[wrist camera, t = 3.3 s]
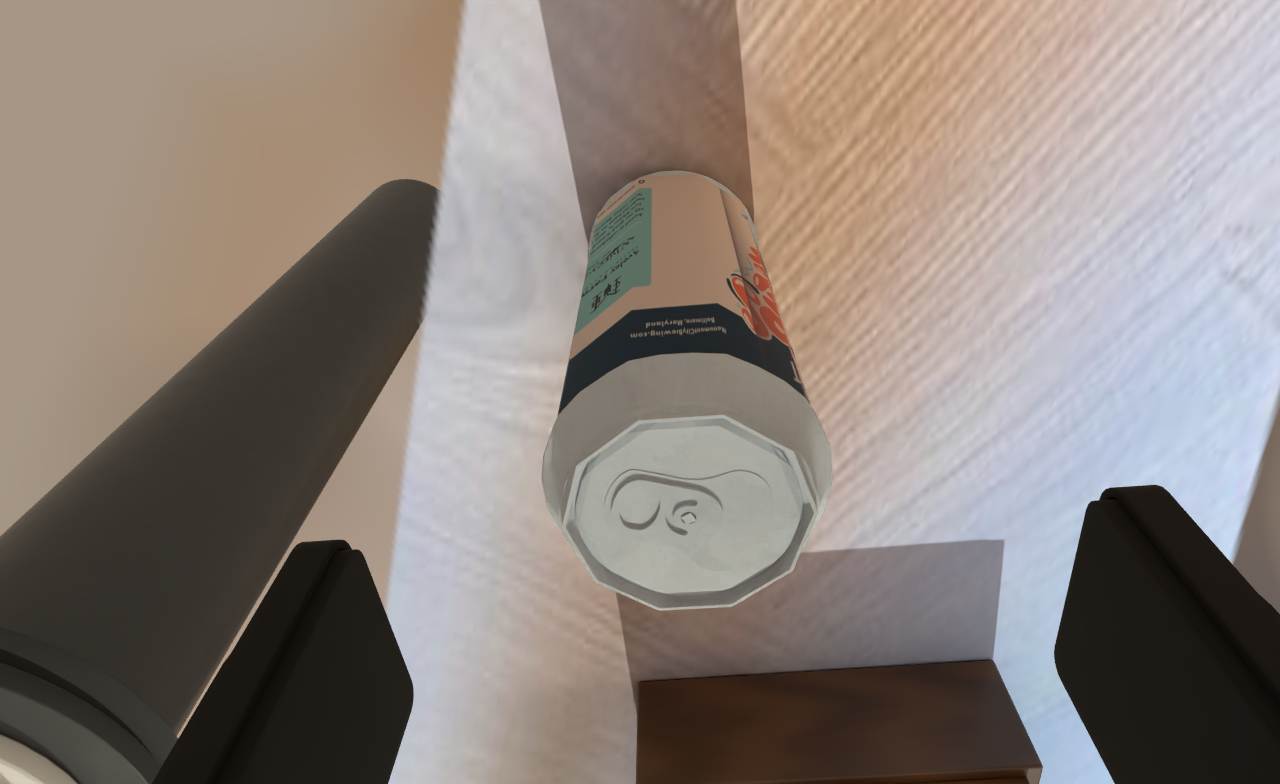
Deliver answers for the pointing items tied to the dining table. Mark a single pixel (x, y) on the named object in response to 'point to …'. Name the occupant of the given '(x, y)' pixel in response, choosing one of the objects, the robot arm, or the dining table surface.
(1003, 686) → the walnut block
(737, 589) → the beer can
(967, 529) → the dining table surface
